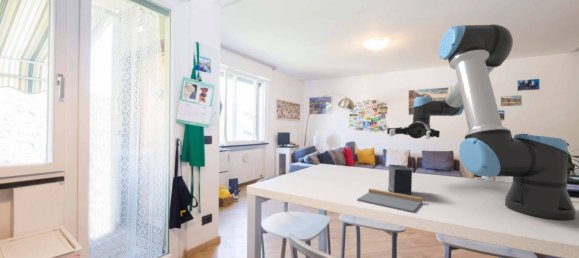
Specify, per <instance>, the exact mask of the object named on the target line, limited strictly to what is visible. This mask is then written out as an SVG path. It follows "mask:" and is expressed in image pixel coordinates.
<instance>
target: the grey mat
mask: <svg viewBox="0 0 579 258" xmlns="http://www.w3.org/2000/svg"><path fill="white" fill-rule="evenodd" d="M356 201H358V202H363V203H367V204H371V205H376V206H380V207H386V208H390V209H394V210H395V209H396V210H399V211H404V212H409V213H411V214H412V213H415V212H416V211H417V209H419V207H420V206H421V205H422V204H423V197H422V196H414V195H411V196H410V195H404V194H398V193H393V192H390V191H386V190H382V189H380V190H379V189H375V188H374V189H373V188H368V192H367V193H365V194H363V195H362V196H360V197H358V198H357V199H356Z"/></svg>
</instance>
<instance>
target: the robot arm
mask: <svg viewBox="0 0 579 258" xmlns="http://www.w3.org/2000/svg"><path fill="white" fill-rule="evenodd" d="M513 44H514V40H513V35H512V33H511V32H510V30H509V29H508V28H506V27H505V26H503V25H501V24H496V23H495V24H473V25H471V24H462V25H454V26H451V27H449V28H448V29H447V30H446V31H445V32H444V34H443V36H442V38H441V41H440V44H439V47H438V55H439V57H440V59H442V60H444V61H446V60H448V65H449V67H450V69H453V70H455V74H456V78H457V82H456V84H454V86H453V87H452V89H451V90H450V92H449V93H448V94H447V96H446V97H445V98H444V99H443V100H432V98H431V96H416V97H414V99H413V105H412V106H413V107H412V108H413V109H412V110H413V111H412V113H413V114H412V122H411V123H410V124H409V125H408V126H404V127H402V126H400V127H387V128H386V129H387V130H386V133H387V135H389V137H393V136H396V135H403V136H404V135H405V136H409V137H411V138H413V139H421V138H423V137H424V136H425V139H426V140H429V139H430V138H434V137H436V138H440V130H437V129H434V128H431V117H436V116H437V117H439V116H440V117H444V116H445V117H446V116H447V117H454V116H460V115H462V114H463V112H464V113H465V120H466V124H467V128H468V132H466V134H465V135H464V140H463V141H461V143H460V145H459V148H460V149H458V154H459V156H458V157H459V159H460V162H461V164H462V165H463V167H464V168H465V169H466V171H468V172H469V173H471V174H472V175H474V176H479V177H487V178H492V177H504V178H505V177H507V178H508V177H509V178H510V177H512V183H511V185H510V187H509V190H508V192H507V194H506V196H505V198H504V206H505V207H506V208H508V209H510V210H512V211H515V212H518V213H521V214H525V215H528V216H532V217H538V218H543V219H551V220H558V221H559V220H560V221H561V220H564V221H566V220H567V221H569V220H574V219H575V218H576V209H575V208H576V207H575V206H574V203H573V201H572V198H571V197H570V194H569V192H568V190H567V189H568V187H567V185H568V168H569V166H568V164H569V155H570V153H569V149H568V142H567V141H566V140H565V139H563V138H560V137H554V136H553V137H552V136H545V135H544V136H543V135H533V134H523V133H522V134H520V133H517V134H514V135H512V132H511V130H510V128H507V127H505V126H503V123H502V119H501V116H500V112H499V108H498V104H497V101H496V97H495V93H494V89H493V85H492V82H491V79H490V73H492V71H493V70H494V69H495V68H498V67H500V66H502V64H503V63H504V62H505V61H507V58H508V57H509V56H510V53H511V52H512V49H513Z"/></svg>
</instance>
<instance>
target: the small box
mask: <svg viewBox="0 0 579 258" xmlns="http://www.w3.org/2000/svg"><path fill="white" fill-rule="evenodd" d="M412 176H413V170H412V169H411V168H409V167H408V166H406V165H403V164H388V188H387V189H388V192H393V193H398V194H404V195H410V196H412V188H413V187H412V186H413V185H412V183H413V181H412V179H413V177H412Z"/></svg>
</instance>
